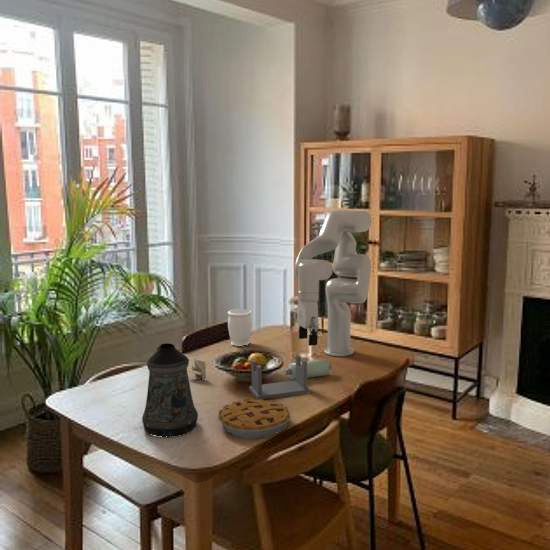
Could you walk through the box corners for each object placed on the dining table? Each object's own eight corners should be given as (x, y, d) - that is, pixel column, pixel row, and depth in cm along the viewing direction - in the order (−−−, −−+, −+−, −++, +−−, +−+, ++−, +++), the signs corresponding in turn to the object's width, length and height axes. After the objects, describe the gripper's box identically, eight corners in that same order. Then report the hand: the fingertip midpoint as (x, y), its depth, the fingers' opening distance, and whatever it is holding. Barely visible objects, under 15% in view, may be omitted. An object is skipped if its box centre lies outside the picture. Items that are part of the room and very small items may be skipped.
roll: (283, 377, 217) (283, 361, 216) (327, 371, 223) (327, 356, 222) (288, 382, 212) (288, 367, 211) (333, 376, 217) (334, 361, 216)
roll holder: (249, 389, 205) (248, 359, 203) (299, 382, 211) (299, 353, 209) (257, 399, 196) (256, 368, 194) (309, 392, 202) (309, 362, 200)
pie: (239, 448, 162) (239, 431, 161) (206, 420, 180) (205, 405, 179) (304, 429, 173) (304, 413, 172) (266, 405, 192) (266, 390, 191)
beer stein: (166, 443, 165) (162, 359, 160) (125, 425, 177) (121, 346, 173) (209, 424, 177) (206, 345, 173) (168, 408, 189) (165, 334, 185)
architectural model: (199, 383, 213) (199, 364, 211) (186, 379, 217) (185, 360, 216) (206, 380, 215) (205, 361, 214) (193, 376, 220) (192, 358, 218)
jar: (225, 347, 255) (225, 313, 252) (231, 340, 265) (230, 308, 262) (249, 348, 253) (249, 314, 250) (254, 341, 263) (253, 309, 260)
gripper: (290, 292, 219) (290, 336, 221) (307, 301, 202) (307, 348, 205) (309, 291, 221) (308, 335, 224) (327, 299, 205) (326, 347, 207)
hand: (307, 341), depth 214 cm, fingers open, 9 cm apart
